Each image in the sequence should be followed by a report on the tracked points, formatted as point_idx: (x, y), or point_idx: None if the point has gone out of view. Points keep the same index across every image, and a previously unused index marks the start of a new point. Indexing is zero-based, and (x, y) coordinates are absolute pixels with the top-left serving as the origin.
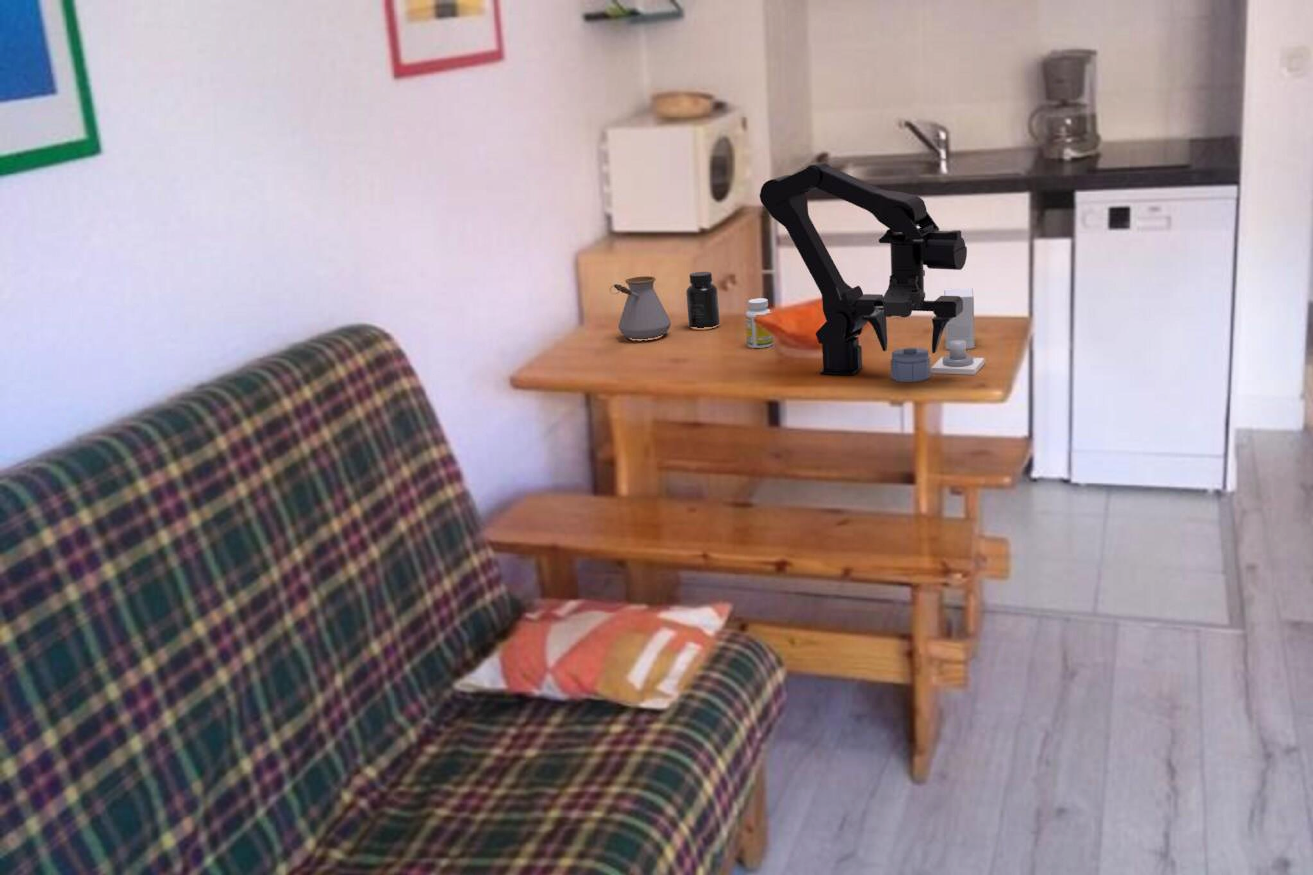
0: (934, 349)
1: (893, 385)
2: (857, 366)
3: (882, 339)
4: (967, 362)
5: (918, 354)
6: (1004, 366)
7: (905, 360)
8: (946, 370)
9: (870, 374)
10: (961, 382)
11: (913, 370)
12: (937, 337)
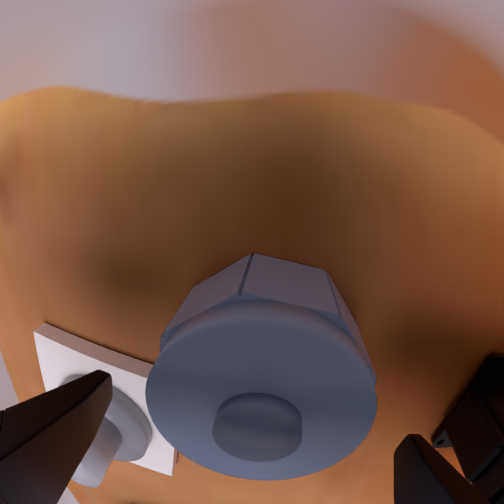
0: (85, 379)
1: (349, 202)
2: (474, 397)
3: (446, 481)
4: (59, 385)
5: (196, 379)
6: (17, 380)
7: (287, 313)
8: (122, 363)
9: (427, 375)
10: (56, 233)
11: (240, 277)
12: (11, 411)
